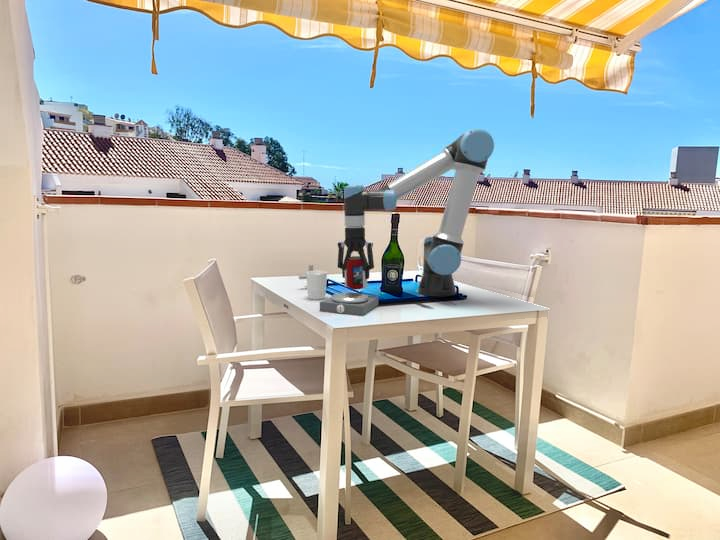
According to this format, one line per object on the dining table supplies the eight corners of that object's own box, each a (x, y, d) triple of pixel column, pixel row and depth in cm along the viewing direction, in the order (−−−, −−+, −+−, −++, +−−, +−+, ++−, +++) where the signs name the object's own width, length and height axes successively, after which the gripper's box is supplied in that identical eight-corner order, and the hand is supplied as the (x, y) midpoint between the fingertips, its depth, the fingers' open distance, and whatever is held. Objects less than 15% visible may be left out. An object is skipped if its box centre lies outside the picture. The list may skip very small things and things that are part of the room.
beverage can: (358, 290, 186) (358, 259, 184) (343, 289, 189) (343, 257, 187) (368, 287, 191) (367, 256, 189) (353, 285, 195) (352, 255, 193)
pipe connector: (296, 287, 212) (295, 263, 210) (318, 285, 216) (318, 262, 214) (303, 291, 203) (303, 267, 201) (326, 289, 207) (326, 266, 205)
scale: (378, 305, 181) (378, 296, 181) (362, 316, 166) (362, 306, 165) (338, 301, 187) (338, 292, 186) (318, 311, 172) (318, 301, 171)
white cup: (315, 294, 198) (315, 270, 196) (330, 297, 193) (331, 272, 191) (302, 298, 191) (302, 272, 190) (317, 301, 187) (317, 275, 185)
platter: (373, 297, 180) (373, 294, 180) (360, 304, 168) (360, 302, 168) (340, 294, 184) (340, 291, 184) (325, 301, 172) (325, 298, 172)
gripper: (382, 226, 186) (383, 286, 190) (334, 225, 193) (336, 283, 197) (376, 228, 179) (377, 290, 183) (326, 227, 186) (328, 287, 190)
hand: (356, 286), depth 190 cm, fingers closed on beverage can, 7 cm apart
